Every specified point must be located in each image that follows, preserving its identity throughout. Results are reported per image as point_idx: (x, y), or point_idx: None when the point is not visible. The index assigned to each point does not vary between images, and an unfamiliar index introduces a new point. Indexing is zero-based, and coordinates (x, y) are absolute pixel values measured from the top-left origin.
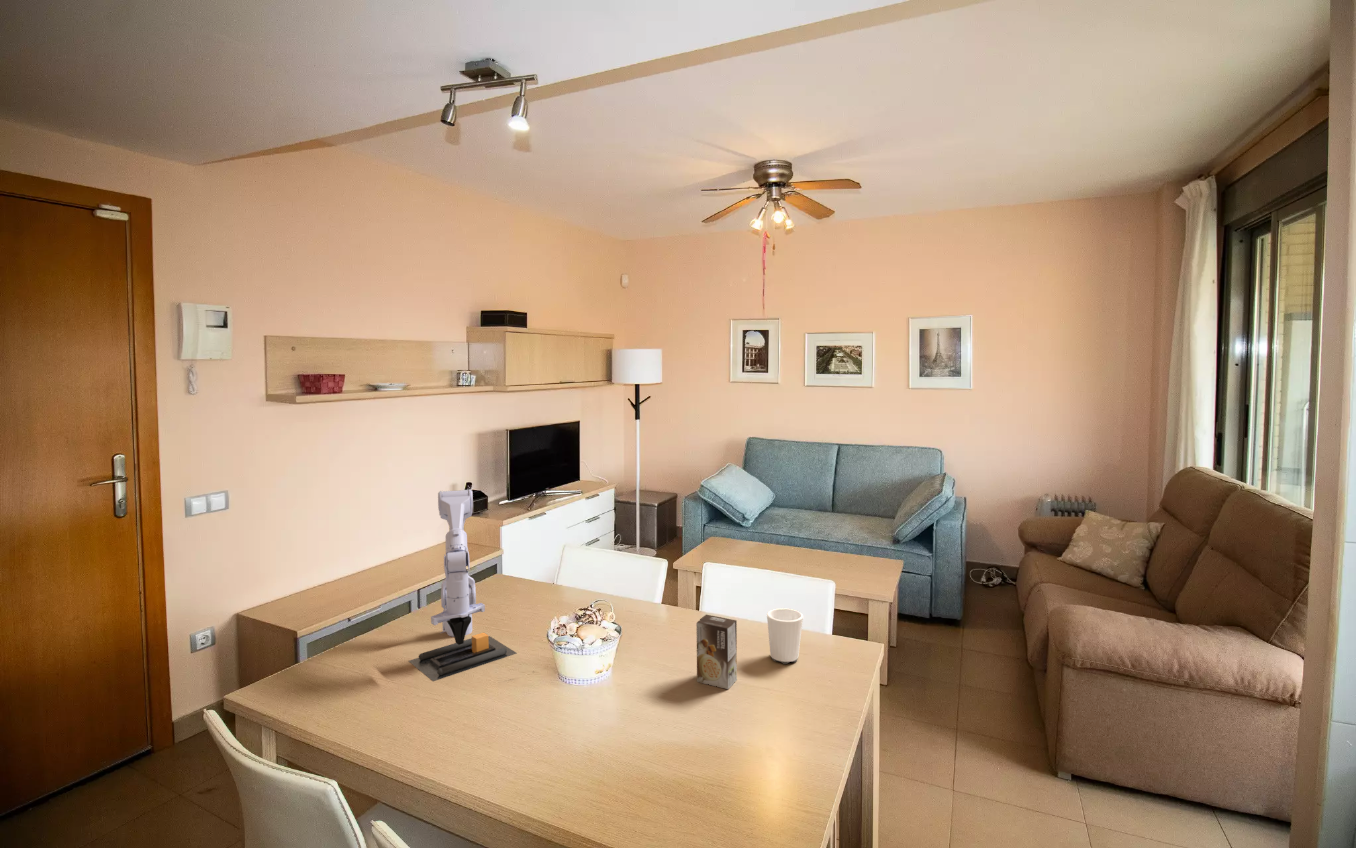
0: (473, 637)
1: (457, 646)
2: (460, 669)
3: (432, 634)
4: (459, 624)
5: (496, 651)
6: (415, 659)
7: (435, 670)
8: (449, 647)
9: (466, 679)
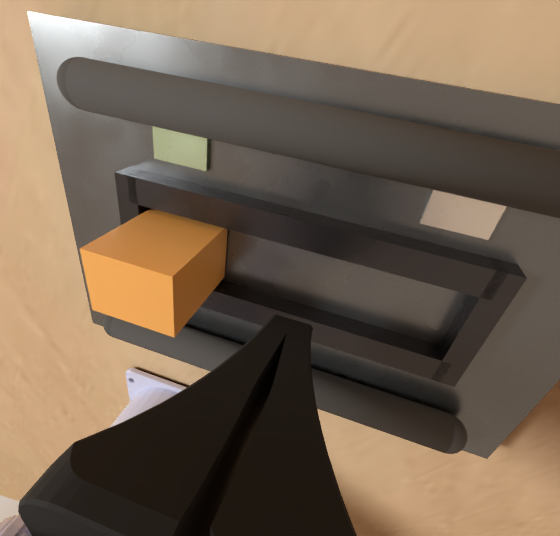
0: (174, 314)
1: None
2: None
3: None
4: (271, 530)
5: (127, 84)
6: None
7: (541, 277)
8: None
9: (477, 18)
